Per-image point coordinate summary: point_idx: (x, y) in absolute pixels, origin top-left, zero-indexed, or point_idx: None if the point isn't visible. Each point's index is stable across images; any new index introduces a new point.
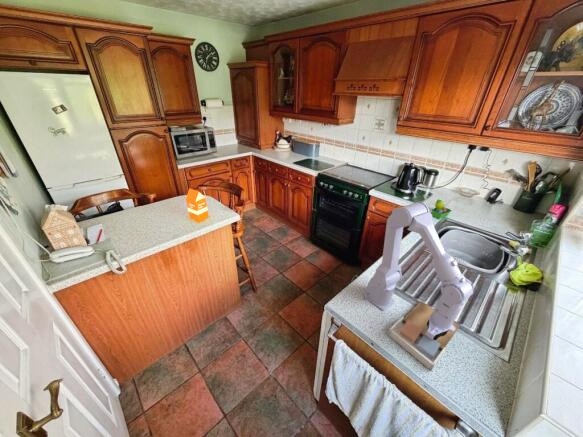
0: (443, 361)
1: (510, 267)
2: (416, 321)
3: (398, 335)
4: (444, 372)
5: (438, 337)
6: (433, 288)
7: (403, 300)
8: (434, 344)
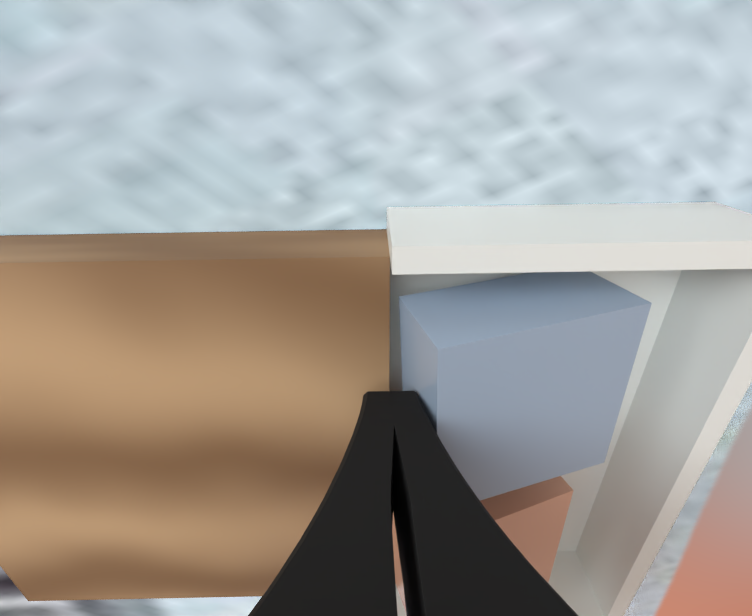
0: (480, 159)
1: None
2: (298, 541)
3: (627, 577)
4: (631, 82)
5: (484, 508)
6: None
7: (173, 607)
8: (498, 388)
